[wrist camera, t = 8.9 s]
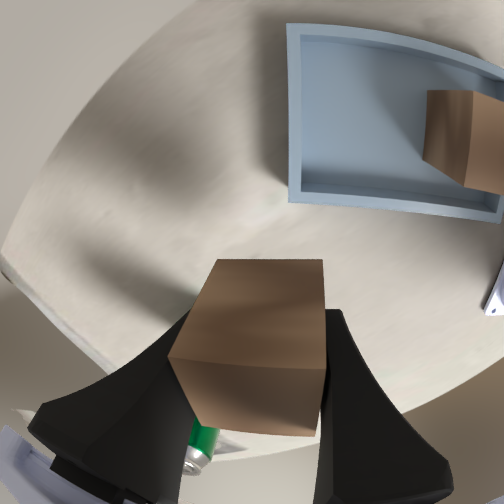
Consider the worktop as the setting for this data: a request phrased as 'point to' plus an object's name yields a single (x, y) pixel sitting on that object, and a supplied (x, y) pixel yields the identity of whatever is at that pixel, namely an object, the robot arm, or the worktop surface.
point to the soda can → (199, 448)
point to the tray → (376, 120)
